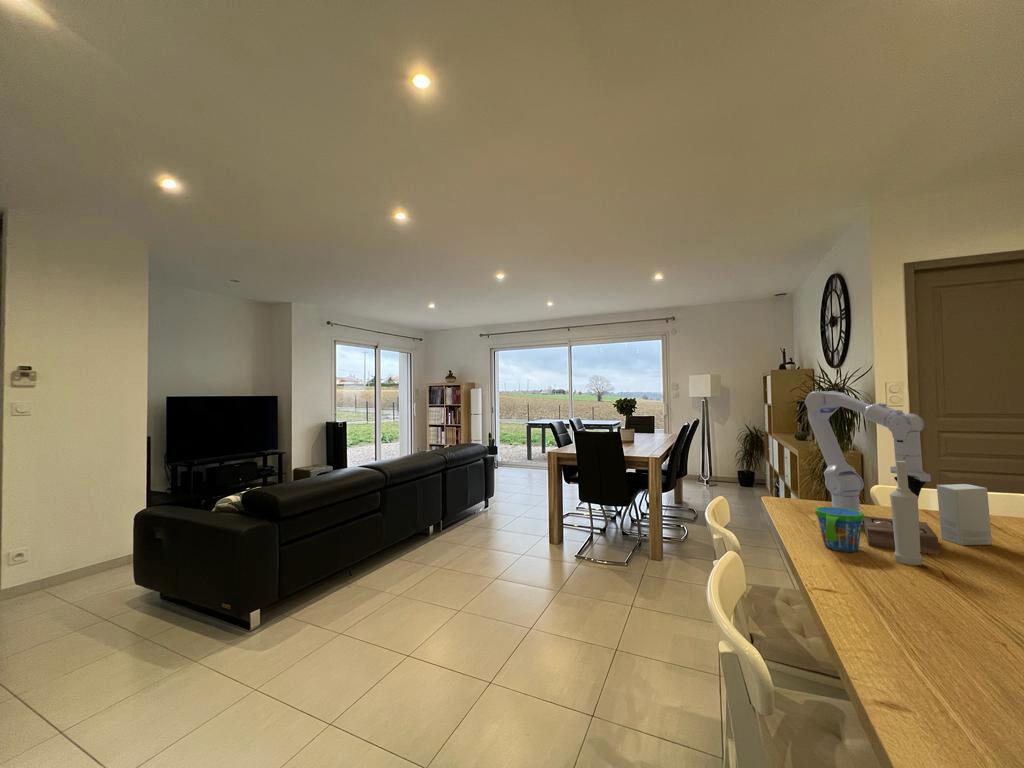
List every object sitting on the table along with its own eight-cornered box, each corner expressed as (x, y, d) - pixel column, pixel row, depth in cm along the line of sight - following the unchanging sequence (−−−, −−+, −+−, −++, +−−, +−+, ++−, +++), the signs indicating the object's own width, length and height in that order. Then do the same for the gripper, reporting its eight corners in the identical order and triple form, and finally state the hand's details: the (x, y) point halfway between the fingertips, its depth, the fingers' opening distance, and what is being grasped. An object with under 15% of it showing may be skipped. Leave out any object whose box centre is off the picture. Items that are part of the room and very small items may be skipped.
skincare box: (971, 538, 121) (966, 483, 121) (995, 546, 114) (990, 488, 115) (939, 538, 121) (934, 483, 122) (961, 545, 115) (956, 488, 116)
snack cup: (831, 538, 124) (829, 503, 125) (876, 548, 115) (873, 510, 116) (805, 548, 116) (803, 511, 117) (851, 559, 107) (849, 519, 108)
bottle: (928, 566, 102) (920, 463, 103) (903, 565, 103) (896, 463, 104) (913, 558, 107) (905, 460, 108) (889, 557, 108) (882, 460, 109)
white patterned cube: (873, 534, 126) (872, 519, 127) (891, 536, 124) (890, 521, 124) (875, 537, 123) (874, 522, 123) (893, 540, 121) (892, 524, 121)
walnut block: (864, 530, 130) (863, 515, 130) (927, 538, 122) (926, 522, 122) (868, 545, 117) (867, 529, 117) (939, 555, 109) (937, 537, 109)
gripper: (877, 452, 131) (880, 496, 130) (907, 458, 117) (910, 507, 116) (904, 452, 129) (908, 496, 129) (938, 458, 115) (942, 508, 115)
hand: (911, 502), depth 122 cm, fingers closed
